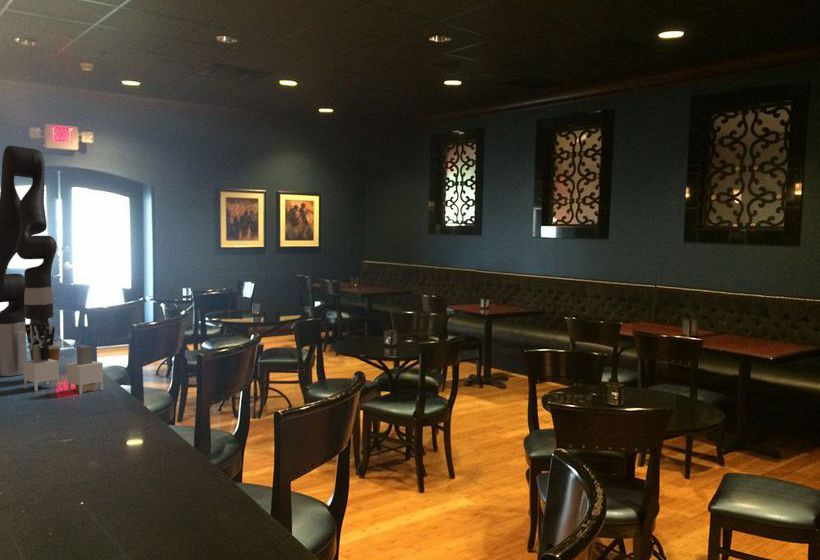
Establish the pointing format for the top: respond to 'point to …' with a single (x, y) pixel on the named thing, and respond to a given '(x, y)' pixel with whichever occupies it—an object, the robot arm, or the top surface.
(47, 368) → the cover
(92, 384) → the letter cube
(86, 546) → the top surface
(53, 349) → the disposable coffee cup
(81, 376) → the cover
